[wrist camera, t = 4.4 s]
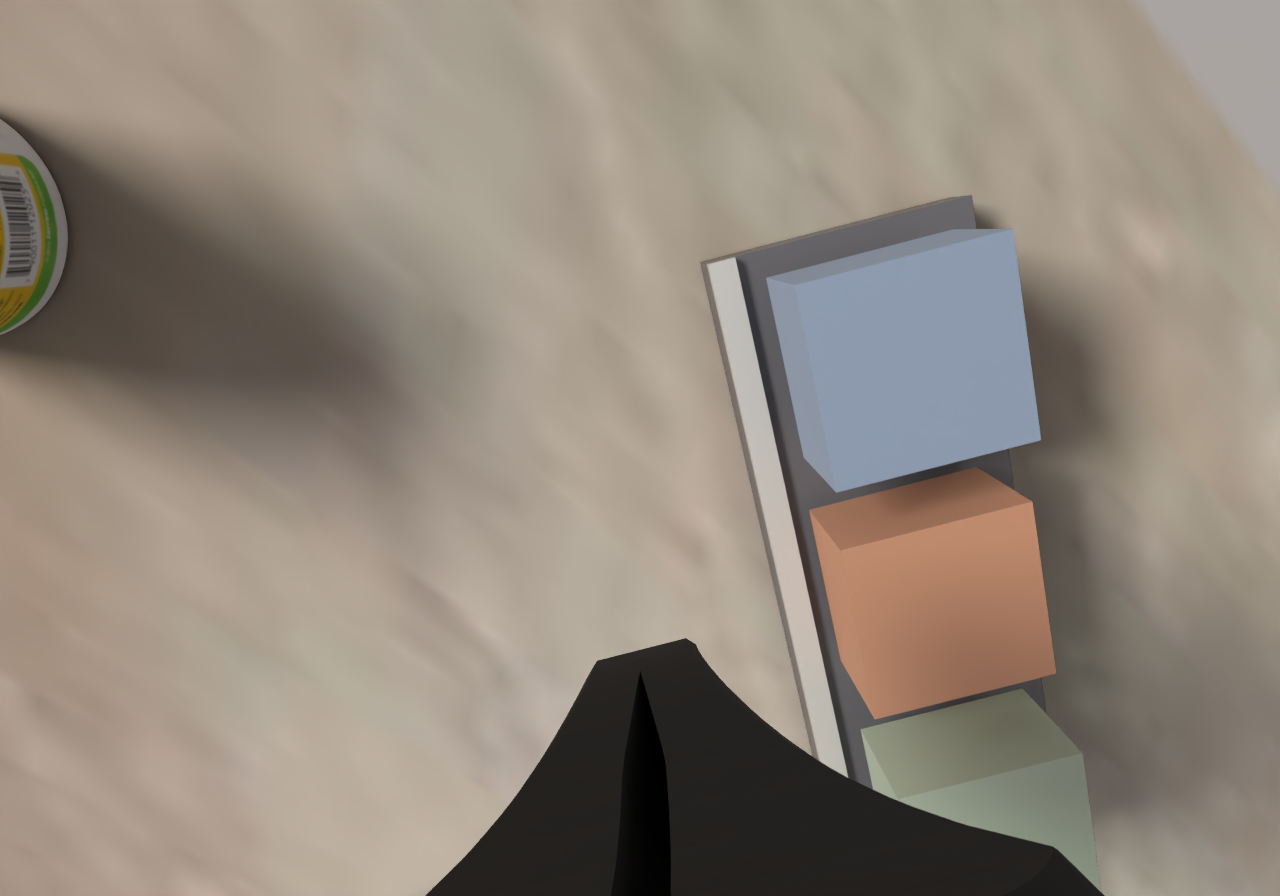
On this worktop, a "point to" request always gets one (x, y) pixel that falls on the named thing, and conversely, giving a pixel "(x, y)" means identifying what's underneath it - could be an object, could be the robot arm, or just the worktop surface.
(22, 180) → the supplement bottle
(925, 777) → the sage key
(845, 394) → the light blue square block
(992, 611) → the terracotta key
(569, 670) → the worktop surface
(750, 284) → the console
